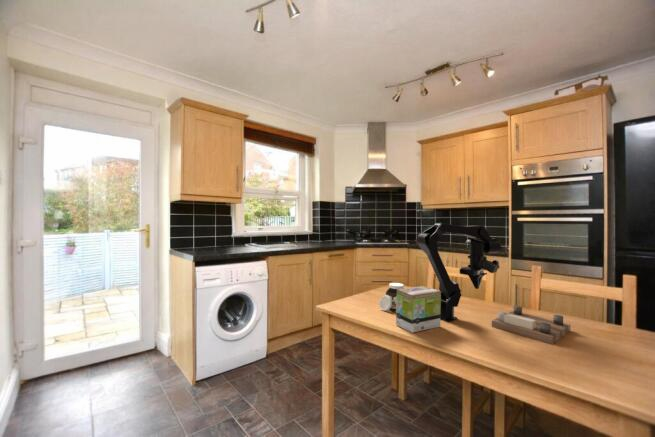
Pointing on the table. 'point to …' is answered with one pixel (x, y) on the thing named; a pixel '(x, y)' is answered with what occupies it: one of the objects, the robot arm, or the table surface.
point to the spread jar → (390, 297)
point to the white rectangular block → (516, 320)
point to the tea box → (418, 308)
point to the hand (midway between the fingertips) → (476, 288)
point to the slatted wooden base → (536, 327)
